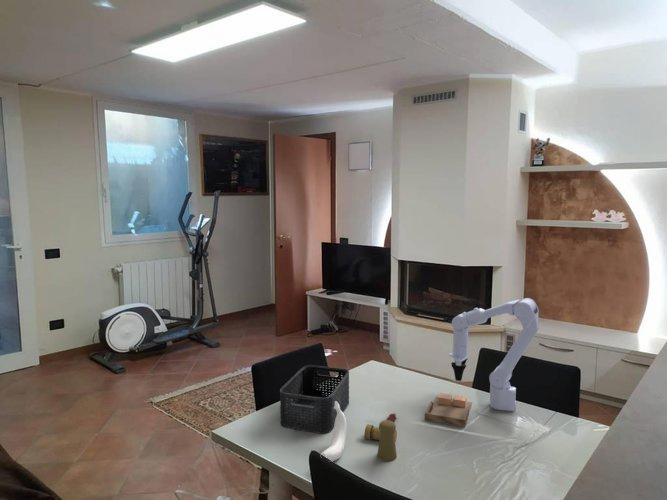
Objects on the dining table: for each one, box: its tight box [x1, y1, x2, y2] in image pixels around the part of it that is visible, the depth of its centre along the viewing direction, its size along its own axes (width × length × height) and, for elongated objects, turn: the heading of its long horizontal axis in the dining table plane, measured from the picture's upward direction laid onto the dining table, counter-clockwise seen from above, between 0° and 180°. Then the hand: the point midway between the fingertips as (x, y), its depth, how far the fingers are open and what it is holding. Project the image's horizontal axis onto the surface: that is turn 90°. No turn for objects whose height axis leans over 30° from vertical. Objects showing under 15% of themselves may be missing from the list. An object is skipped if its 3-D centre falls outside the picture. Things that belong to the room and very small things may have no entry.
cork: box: [376, 419, 398, 462], centre depth 144 cm, size 6×6×11 cm
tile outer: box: [437, 392, 453, 405], centre depth 182 cm, size 4×4×2 cm
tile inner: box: [452, 394, 468, 407], centre depth 180 cm, size 4×4×2 cm
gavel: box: [364, 413, 398, 443], centre depth 162 cm, size 21×5×10 cm
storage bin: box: [279, 364, 350, 435], centre depth 173 cm, size 29×19×13 cm
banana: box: [320, 401, 347, 462], centre depth 144 cm, size 5×19×15 cm, turn 167°
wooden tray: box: [424, 396, 473, 428], centre depth 174 cm, size 14×22×3 cm, turn 157°
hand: (459, 377), depth 187 cm, fingers open, 7 cm apart
